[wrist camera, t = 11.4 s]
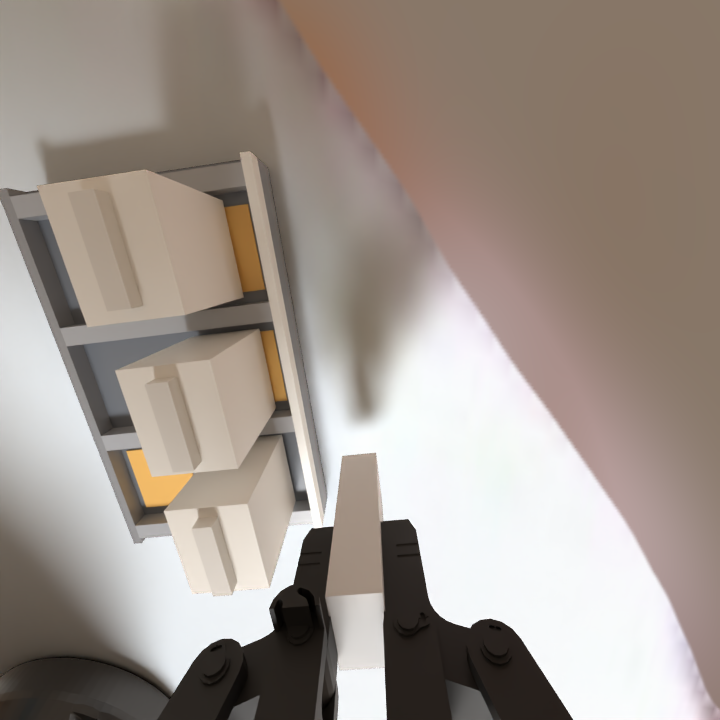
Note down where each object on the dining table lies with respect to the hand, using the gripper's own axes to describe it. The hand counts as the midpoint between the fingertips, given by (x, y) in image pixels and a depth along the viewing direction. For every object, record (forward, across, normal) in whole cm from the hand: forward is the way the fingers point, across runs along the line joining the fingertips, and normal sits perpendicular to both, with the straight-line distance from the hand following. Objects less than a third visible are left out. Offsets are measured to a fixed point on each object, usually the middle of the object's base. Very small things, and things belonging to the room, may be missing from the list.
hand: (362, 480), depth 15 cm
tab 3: (+1, -5, 0) cm, 5 cm away
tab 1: (+1, -6, +11) cm, 12 cm away
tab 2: (+1, -5, +5) cm, 8 cm away
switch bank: (+3, -8, +5) cm, 10 cm away
